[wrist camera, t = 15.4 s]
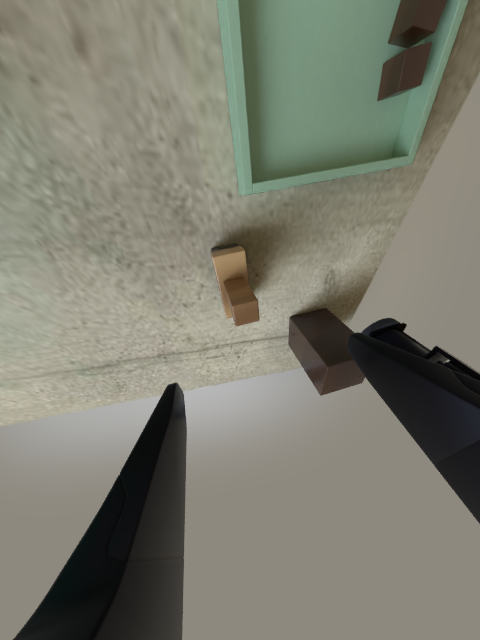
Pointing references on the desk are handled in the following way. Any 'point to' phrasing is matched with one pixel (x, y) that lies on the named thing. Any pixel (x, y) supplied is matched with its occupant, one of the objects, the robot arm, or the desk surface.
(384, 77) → the crumb
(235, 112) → the tray
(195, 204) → the desk surface
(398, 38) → the crumb
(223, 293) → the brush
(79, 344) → the desk surface
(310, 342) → the dark brown block
